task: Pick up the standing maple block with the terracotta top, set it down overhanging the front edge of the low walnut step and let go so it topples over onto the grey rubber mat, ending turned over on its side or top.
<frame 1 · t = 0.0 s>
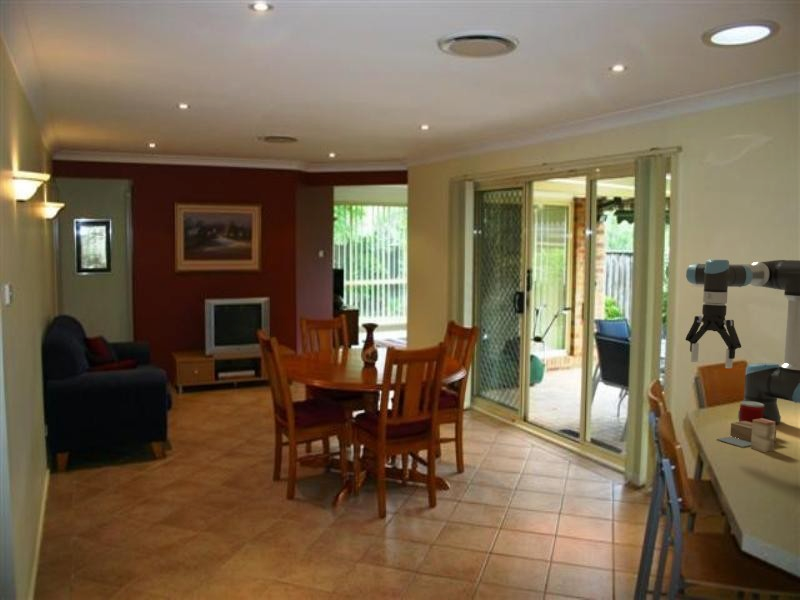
hand: (711, 364, 235), 28 cm above the table, tool pointing down, fingers open, 13 cm apart
step: (752, 439, 243), on the table
block: (762, 449, 232), on the table
canned food: (750, 432, 254), on the table
mat: (736, 442, 239), on the table
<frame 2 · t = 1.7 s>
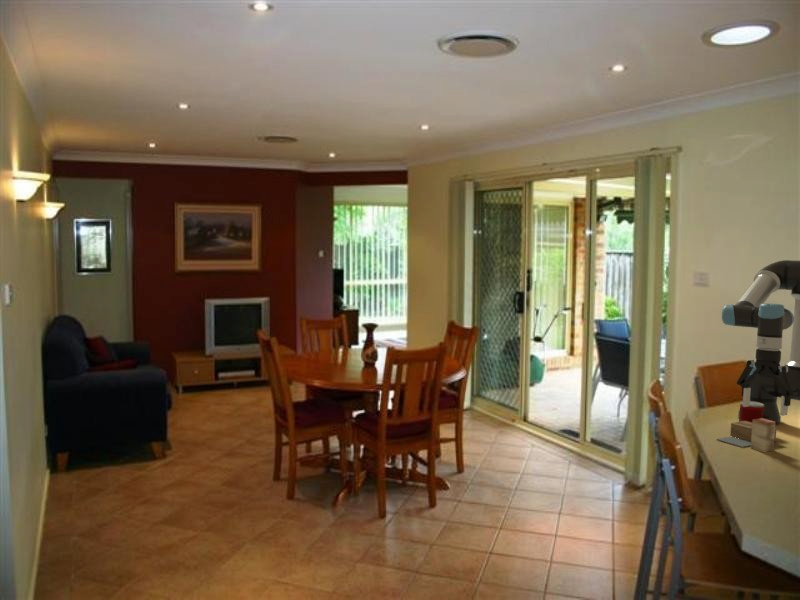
hand: (764, 410, 230), 13 cm above the table, tool pointing down, fingers open, 13 cm apart
nothing on the table moved.
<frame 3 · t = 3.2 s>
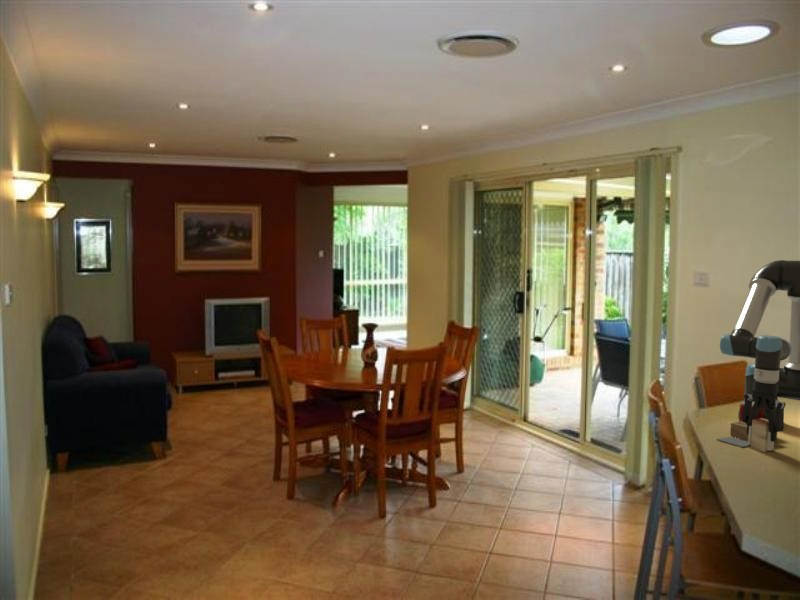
hand: (760, 446, 232), 1 cm above the table, tool pointing down, fingers open, 6 cm apart
block: (761, 449, 232), on the table, touching gripper
everything else where it was.
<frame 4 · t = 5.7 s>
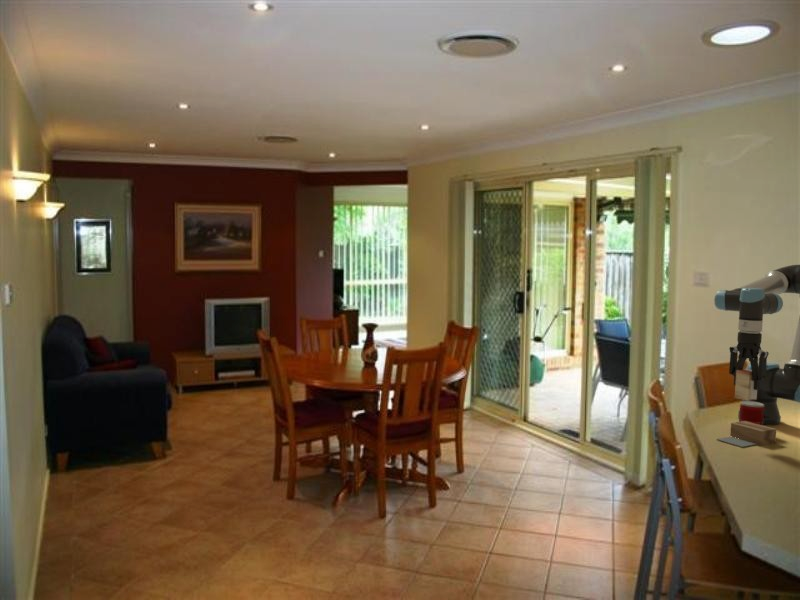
hand: (745, 396, 239), 16 cm above the table, tool pointing down, fingers closed on block, 5 cm apart
block: (745, 398, 239), point 16 cm above the table, touching gripper
everything else where it was.
when the fingers open (7 cm above the table, at t = 7.6 s): block drops 3 cm and tips over, resting on mat.
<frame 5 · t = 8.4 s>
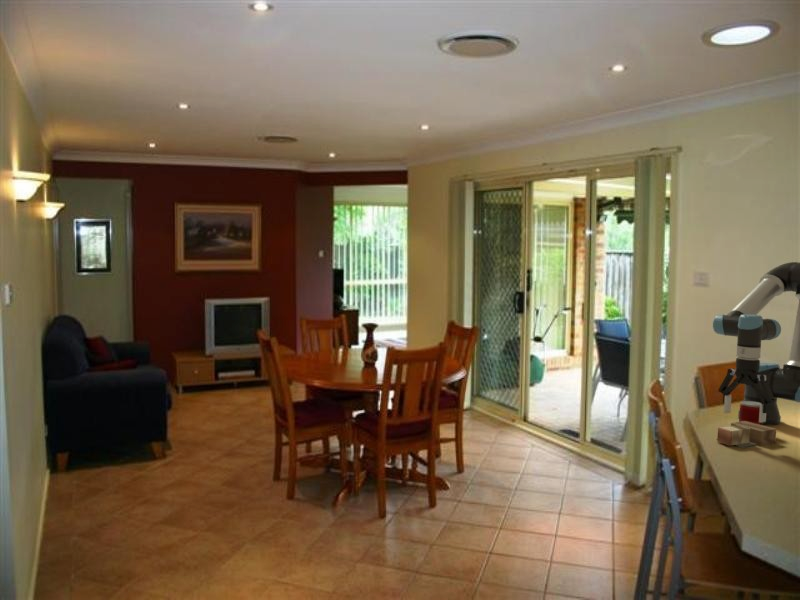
hand: (744, 417, 240), 9 cm above the table, tool pointing down, fingers open, 13 cm apart
block: (743, 433, 240), point 3 cm above the table, tilted 90°, touching mat
everything else where it was.
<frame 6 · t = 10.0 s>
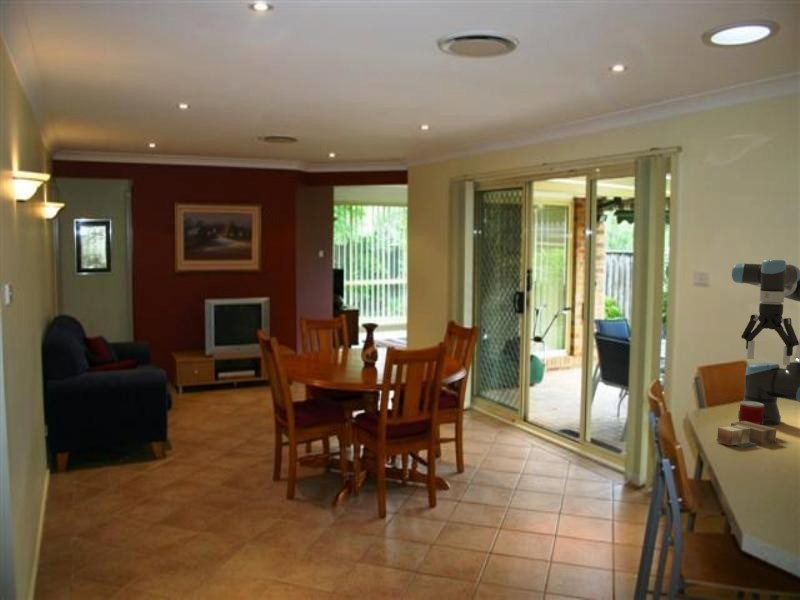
hand: (767, 361, 243), 28 cm above the table, tool pointing down, fingers open, 13 cm apart
nothing on the table moved.
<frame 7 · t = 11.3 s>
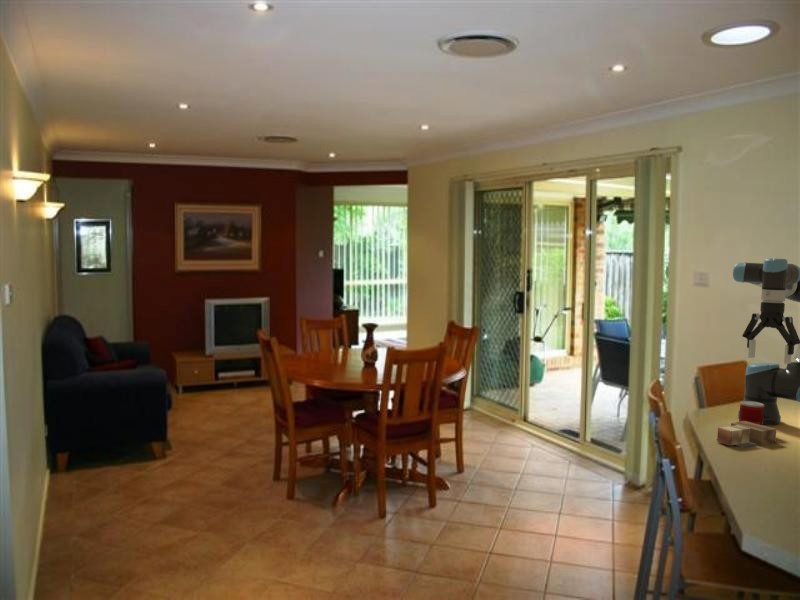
hand: (769, 360, 243), 29 cm above the table, tool pointing down, fingers open, 13 cm apart
nothing on the table moved.
at the end: block tilted 90°; block inside the target area (7.1 cm from its centre), point 2.9 cm above the table; the gripper is holding nothing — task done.
